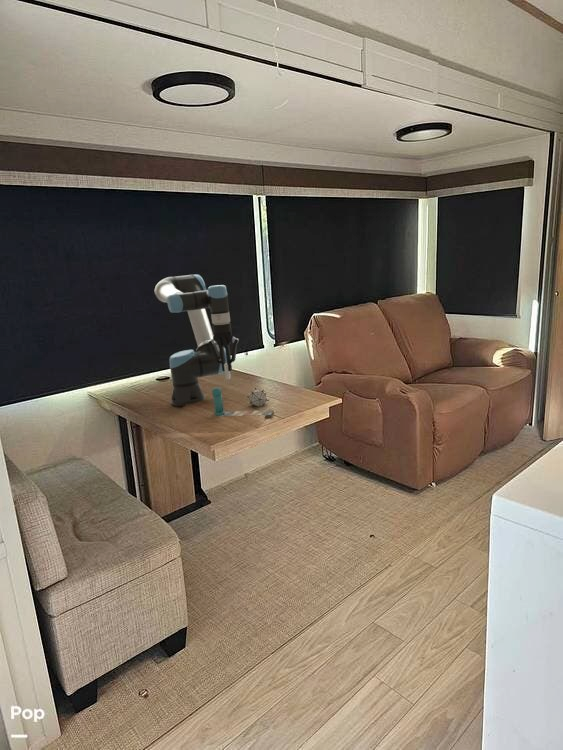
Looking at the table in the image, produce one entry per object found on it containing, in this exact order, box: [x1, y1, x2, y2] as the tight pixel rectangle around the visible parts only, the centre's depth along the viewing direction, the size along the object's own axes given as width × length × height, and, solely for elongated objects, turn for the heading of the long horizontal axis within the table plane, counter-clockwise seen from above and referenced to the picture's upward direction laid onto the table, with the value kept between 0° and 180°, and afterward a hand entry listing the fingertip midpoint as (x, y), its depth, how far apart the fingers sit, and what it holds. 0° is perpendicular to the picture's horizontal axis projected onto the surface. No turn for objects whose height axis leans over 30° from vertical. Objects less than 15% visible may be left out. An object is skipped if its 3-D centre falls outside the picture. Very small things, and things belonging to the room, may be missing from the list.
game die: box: [246, 387, 270, 407], centre depth 212 cm, size 9×8×10 cm
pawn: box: [211, 386, 226, 417], centre depth 204 cm, size 4×4×12 cm
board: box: [213, 409, 275, 419], centre depth 203 cm, size 24×6×1 cm, turn 81°
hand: (228, 378), depth 212 cm, fingers closed
